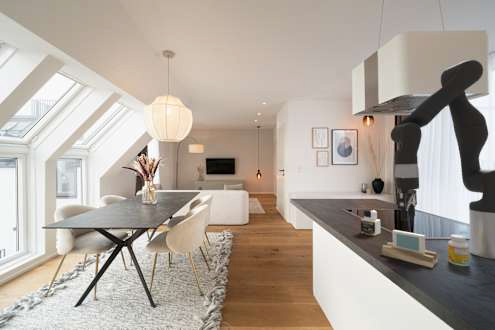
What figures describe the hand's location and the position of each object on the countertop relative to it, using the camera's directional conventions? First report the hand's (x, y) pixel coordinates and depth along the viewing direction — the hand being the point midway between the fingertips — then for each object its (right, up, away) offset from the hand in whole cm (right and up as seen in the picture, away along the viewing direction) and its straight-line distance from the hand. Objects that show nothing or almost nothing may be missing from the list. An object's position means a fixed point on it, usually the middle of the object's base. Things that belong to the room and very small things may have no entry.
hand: (408, 218), depth 88 cm
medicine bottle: (+3, -15, +32) cm, 36 cm away
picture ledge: (0, -15, 0) cm, 15 cm away
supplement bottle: (+14, -15, -5) cm, 21 cm away
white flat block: (0, -14, 0) cm, 14 cm away
